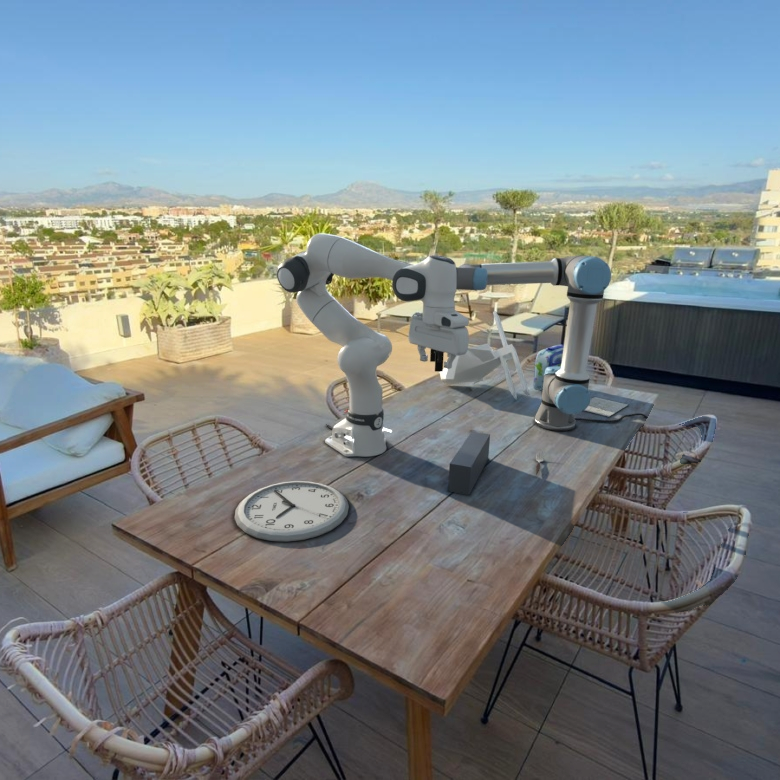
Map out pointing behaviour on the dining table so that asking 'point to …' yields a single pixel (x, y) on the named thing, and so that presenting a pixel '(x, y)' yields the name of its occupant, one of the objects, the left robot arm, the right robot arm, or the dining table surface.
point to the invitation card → (604, 406)
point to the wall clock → (291, 511)
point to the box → (468, 463)
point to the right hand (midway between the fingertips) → (436, 366)
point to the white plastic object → (485, 363)
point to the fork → (539, 461)
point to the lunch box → (546, 363)
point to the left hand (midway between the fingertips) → (435, 364)
